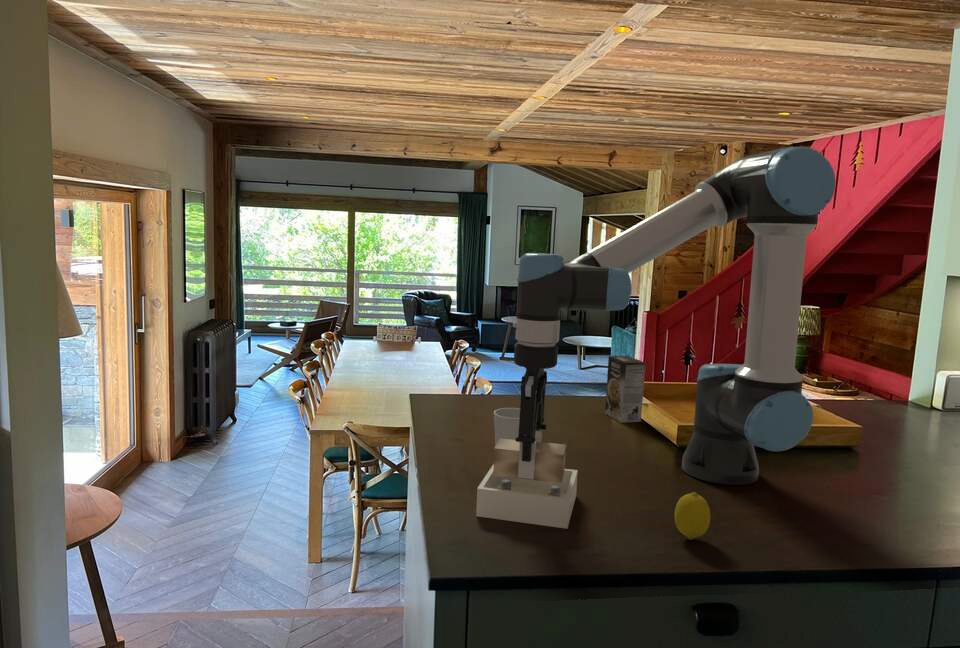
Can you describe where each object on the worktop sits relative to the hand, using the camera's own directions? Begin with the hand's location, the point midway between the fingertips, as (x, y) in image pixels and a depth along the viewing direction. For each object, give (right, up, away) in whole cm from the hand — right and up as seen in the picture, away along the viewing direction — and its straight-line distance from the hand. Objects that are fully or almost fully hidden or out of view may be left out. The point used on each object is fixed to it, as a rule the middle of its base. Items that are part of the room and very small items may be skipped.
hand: (529, 470), depth 120 cm
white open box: (0, -6, +1) cm, 7 cm away
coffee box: (+30, +1, +61) cm, 68 cm away
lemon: (+25, -9, -10) cm, 29 cm away
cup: (-2, -4, +19) cm, 19 cm away
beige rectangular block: (0, 0, 0) cm, 1 cm away
